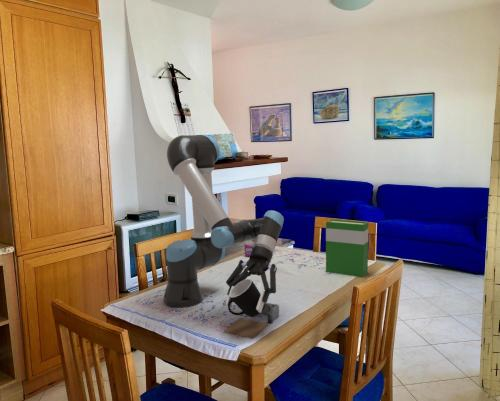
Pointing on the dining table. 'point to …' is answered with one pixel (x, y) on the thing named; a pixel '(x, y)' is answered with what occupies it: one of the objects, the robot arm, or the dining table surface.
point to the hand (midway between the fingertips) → (242, 308)
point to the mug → (245, 298)
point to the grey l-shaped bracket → (271, 311)
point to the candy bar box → (249, 247)
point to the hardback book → (347, 247)
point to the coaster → (246, 328)
